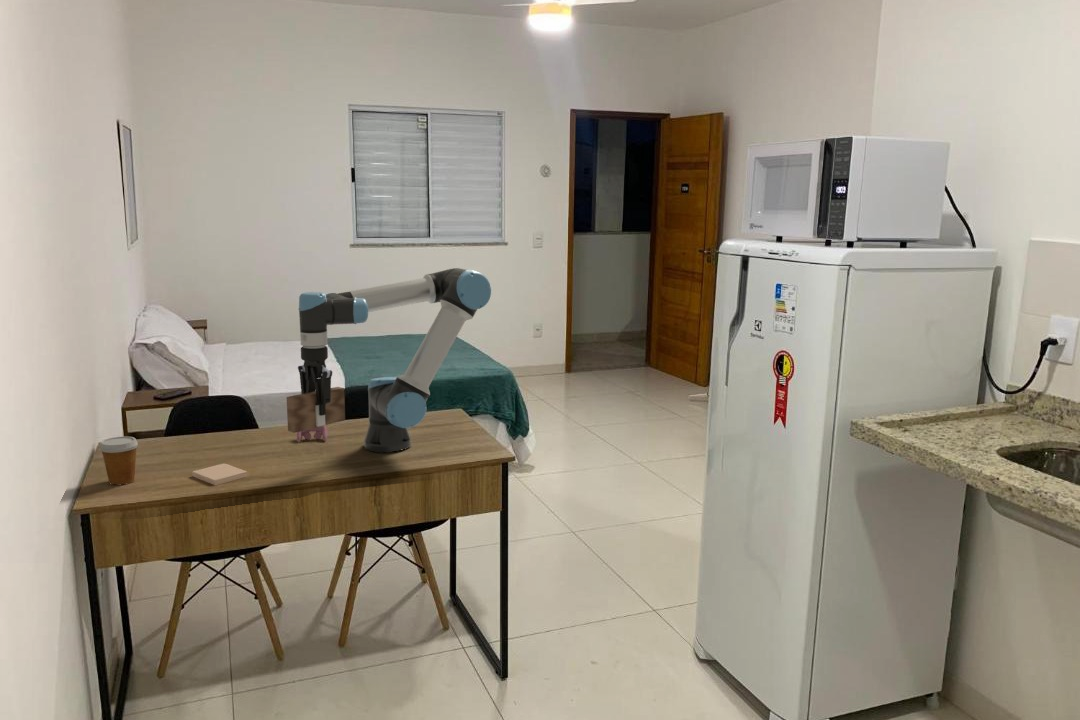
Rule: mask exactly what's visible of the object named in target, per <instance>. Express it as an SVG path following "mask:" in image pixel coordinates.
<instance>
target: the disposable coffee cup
mask: <svg viewBox="0 0 1080 720" xmlns="http://www.w3.org/2000/svg"><path fill="white" fill-rule="evenodd" d="M100 442H101V443H100V445H99V449H100V451H101V453H102V458H103V462H104V467H105V469H106V475H107V479H108V483H111V484H125V485H127V484H126V483H129V484H132V483H134V481H135V478H136V477H135V476H136V463H137V462H136V459H137V447H138V445H139V442H138V441H137V439H136V438H135V437H133V436H115V437H109V438H106V439H104V440H102V441H100ZM111 484H110V485H111Z"/></svg>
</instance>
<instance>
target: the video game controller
mask: <svg viewBox="0 0 1080 720" xmlns="http://www.w3.org/2000/svg"><path fill="white" fill-rule="evenodd" d="M311 432H314V434H313V438H314V439H315V440H317V439H318V440H320V439H321V438H322V440H323V442H326V441H327V440H328V428H327V425H324V426H320V427H316V428H312V429H308V430H304V431H299V432H296V433H297V434H296V441H297V443H300V441H301V442H302V439H303V437H304V439H305V440H306V439H309V440H311V438H312V434H311Z"/></svg>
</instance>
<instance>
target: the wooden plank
mask: <svg viewBox="0 0 1080 720" xmlns="http://www.w3.org/2000/svg"><path fill="white" fill-rule="evenodd" d="M285 398H286V417H287V418H286V419H287V431H288V432H290V433H297V432H299V431H304V430H308V429H312V428H316V427H317V426H316V406H315V403H317V397H316V390H315V391H314V392H309V393H304V394H301V393H300V394H295V395H294V394H293V395H290V396H286V397H285ZM345 401H346V399H345V388H344V387H340V386H335V387H334V386H333V387H331V400H330V402H329V403H326V405H325V408H326V414H325V426H327V425H332V424H335V423H340V422H343V421H346V404H345ZM323 426H324V425H323ZM319 427H320V426H319Z"/></svg>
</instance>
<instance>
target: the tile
mask: <svg viewBox="0 0 1080 720" xmlns="http://www.w3.org/2000/svg"><path fill="white" fill-rule="evenodd" d="M191 474H192V477H194V478H195V479H199V480H201V481H203V482H205V483H208V484H211V485H213V486H218V485H222V484H226V483H229V482H233V481H237V480H240V479H243V478H247V477H248V471H247V470H244V469H242V468H239V467H235V466H234V465H231V464H227V463H219V464H216V465H211V466H209V467H206V468H201V469H196V470H193V471H192V473H191Z"/></svg>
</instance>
